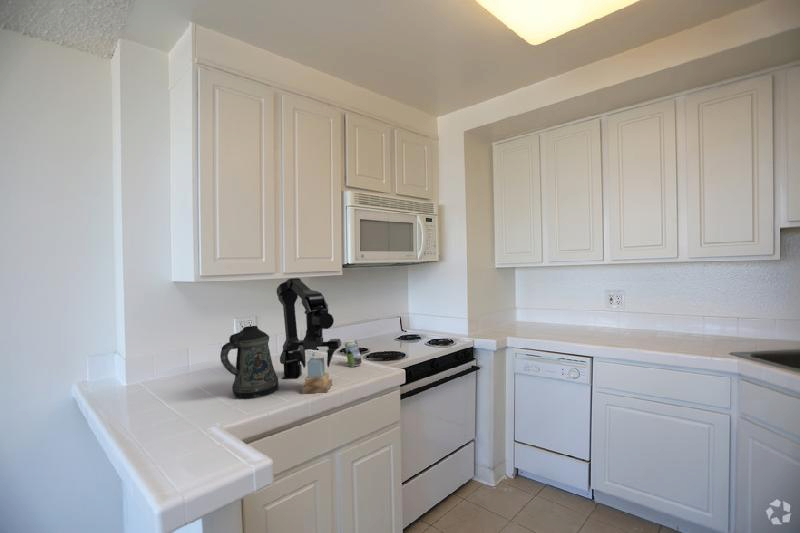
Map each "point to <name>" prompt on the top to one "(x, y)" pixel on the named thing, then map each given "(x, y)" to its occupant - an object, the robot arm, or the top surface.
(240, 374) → the beer stein
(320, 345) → the robot arm
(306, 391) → the bottom block
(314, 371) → the slate block
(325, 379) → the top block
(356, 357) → the beverage can
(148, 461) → the top surface
